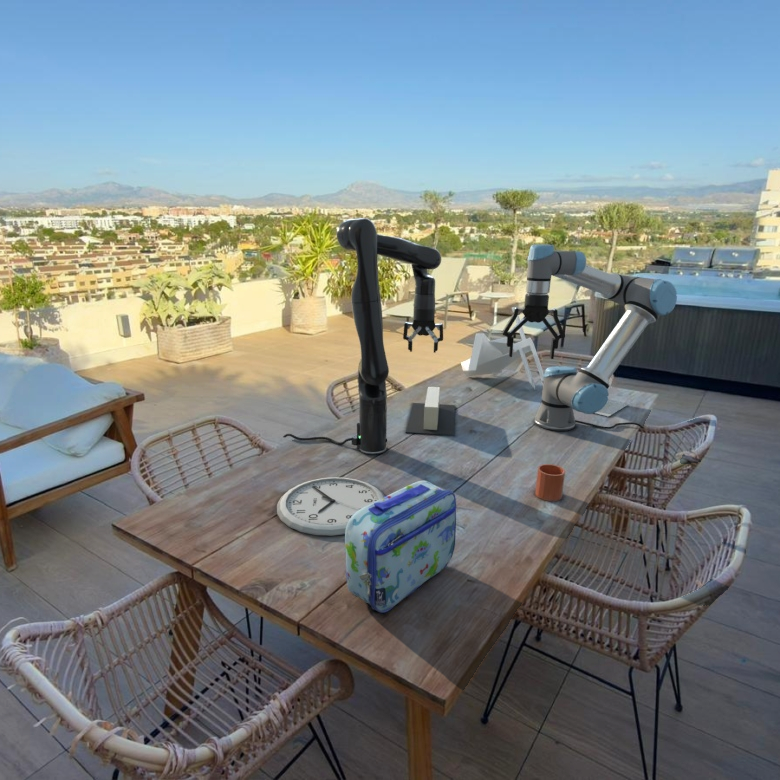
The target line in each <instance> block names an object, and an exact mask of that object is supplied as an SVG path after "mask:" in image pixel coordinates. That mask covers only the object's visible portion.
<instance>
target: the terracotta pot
mask: <svg viewBox="0 0 780 780" xmlns="http://www.w3.org/2000/svg"><path fill="white" fill-rule="evenodd" d="M565 479H566V470H565V469H564V468H563V467H562V466H560V465H556V464H553V463H552V464H551V463H544V464H543V463H542V464H540V465H538V467H537V472H536V481H535V487H534V489H535V490H534V494H535V496H536V497H537V498H539V499H541V500H543V501H547V502H558V501H560V500H561V499H562V498H563V495H564V487H565V486H564V485H565Z"/></svg>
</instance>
